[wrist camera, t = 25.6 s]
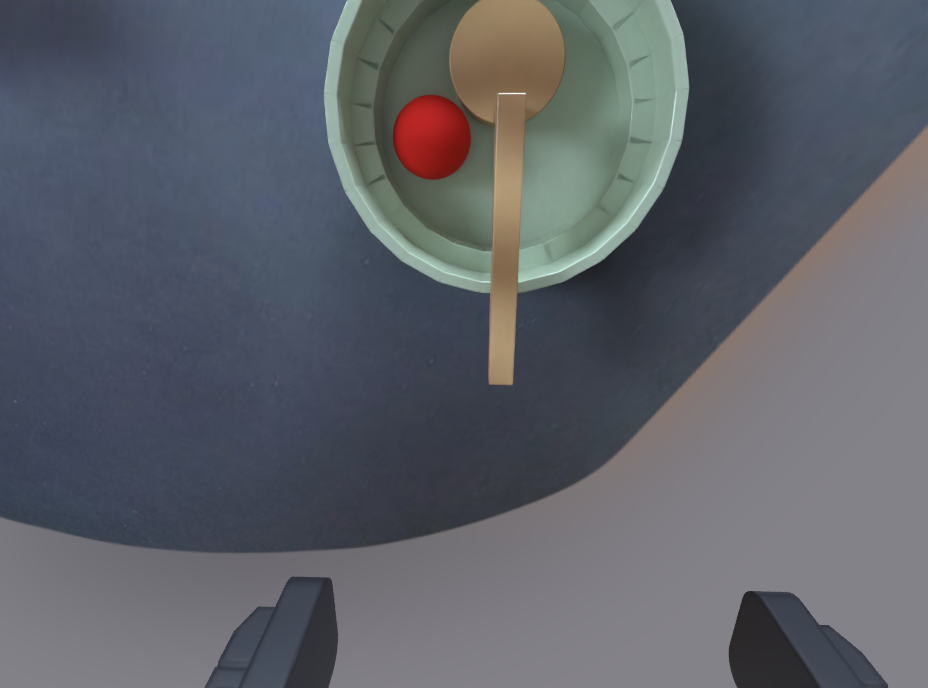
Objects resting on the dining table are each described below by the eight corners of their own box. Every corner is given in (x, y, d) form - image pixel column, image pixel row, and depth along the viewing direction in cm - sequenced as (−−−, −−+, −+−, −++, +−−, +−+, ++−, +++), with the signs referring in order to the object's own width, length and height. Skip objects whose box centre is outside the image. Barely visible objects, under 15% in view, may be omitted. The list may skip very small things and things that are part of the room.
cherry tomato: (451, 191, 23) (490, 114, 23) (376, 149, 22) (414, 67, 22) (445, 195, 27) (479, 129, 26) (381, 159, 26) (414, 90, 26)
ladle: (451, 7, 24) (441, -54, 18) (562, 7, 24) (594, -54, 17) (451, 337, 30) (444, 384, 24) (539, 339, 30) (557, 386, 24)
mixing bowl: (694, 3, 24) (753, -42, 19) (587, 300, 30) (611, 327, 25) (385, -92, 23) (359, -167, 18) (333, 233, 29) (301, 246, 24)
